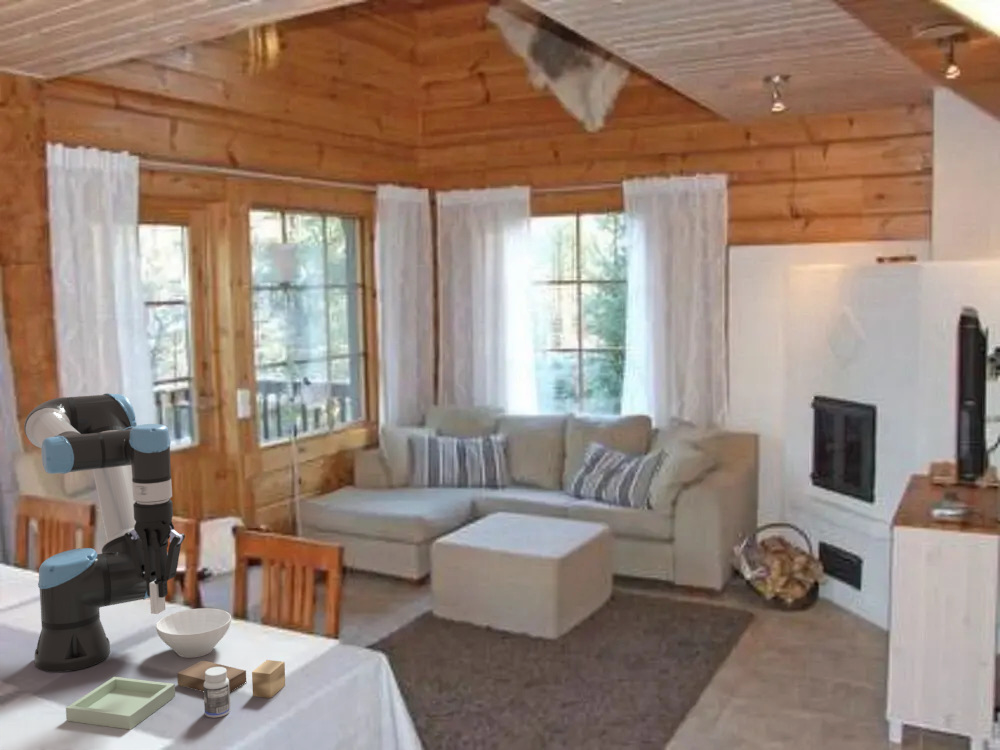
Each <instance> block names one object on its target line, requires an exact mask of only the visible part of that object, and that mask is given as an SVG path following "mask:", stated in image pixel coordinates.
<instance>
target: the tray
mask: <svg viewBox="0 0 1000 750" xmlns="http://www.w3.org/2000/svg"><path fill="white" fill-rule="evenodd" d="M175 686H176V684H175V683H170V682H161V681H153V680H144V679H136V678H129V677H127V678H126V677H120V676H113V677H111V678H110V679H109V680H107V681H105V682H104V683H102V684H101V685H99V686H97V687H95V688H94V689H93V690H91V691H90V692H88V693H86V694H85V695H83V696H82V697H80V698H78V699H77V700H75V701H74V702H72V703H71V704H70V705H68V706H65V715H66V716H65V717H66V722H74V723H81V724H88V725H93V726H102V727H109V728H117V729H123V730H132V729H133V728H135V727H136V726H137V725H139V724H140V723H141V722H143V721H144V720H146V719H147V718H148V717H150V716H151V715H152V714H154V713H155V712H156V711H158V710H160V708H162V707H163V706H165V704H167V703H168V702H170V701H171V700H173V699H174V698H175V697H176V687H175Z"/></svg>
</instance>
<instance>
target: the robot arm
mask: <svg viewBox="0 0 1000 750" xmlns="http://www.w3.org/2000/svg"><path fill="white" fill-rule="evenodd" d="M23 425H24V426H23V430H24V434H25V436H26V438H27V440H28V441H29V442H30V443H31V444H32V445H33V446H34V447H35V446H36V447H37V448H40V449H41V461H42V466H43V468H44V471H45V472H46V473H47V474H50V475H52V474H54V475H55V474H62V475H63V474H68V473H74V472H82V471H90V470H92V473H93V477H94V483H95V487H96V493H97V497H98V503H99V507H100V513H101V518H102V521H103V527H104V528H103V529H104V531H105V532H104V533H105V537H106V542H105V543H104V544H103V545H102V547H101V553H99V554H98V552H96V550H95V549H94V548H91V547H83V548H73V549H68V550H66V551H62V552H59V553H56V554H54V555H52V556H49V557H48V558H47V559H45V560H44V561H43V562H42V563H41V565H40V567H39V568H38V583H37V586H38V588H39V601H40V622H41V631H40V633H39V638H38V641H37V643H36V644H37V645H36V649H35V651H34V665H35V667H36V668H37V669H39V670H40V671H43V672H50V673H51V672H55V673H61V672H64V673H65V672H71V671H77V670H82V669H85V668H89V667H92V666H95V665H97V664H99V663H101V662H103V661H105V660H106V659H107V658H108V657H109V656H110V654H111V644H110V640H109V638H108V637H107V634H106V631H105V629H104V627H103V624H102V622H101V615H100V608H104V607H109V606H115V605H118V604H125V603H130V602H136V601H141V600H143V601H144V600H146V599H150V602H149V603H150V614H153V615H159V614H161V613H163V612H164V611H166V597H167V596H168V593H169V592H168V581H169V580H171V579H173V578H175V577H176V576H177V569H178V563H179V557H180V552H181V546H182V544H183V542H184V540H185V538H186V536H185V534H184V533H178V531H176V530H175V526H174V524H173V521H172V520H173V516H174V512H173V511H174V510H173V504H174V503H173V500H172V499H171V498H173V487H172V485H173V484H172V469H171V466H172V464H171V439H170V433H169V428H168V426H166V425H165V424H161V423H148V424H139V425H137V420H136V414H135V411H134V407H133V405H132V403H131V400H130V399H129V398H128V397H127V396H126V395H123V394H121V393H108V392H107V393H104V394H96V395H94V394H93V395H81V396H80V395H79V396H68V397H67V396H65V397H64V396H62V397H57V398H53V399H49V400H46V401H44V402H42V403H40V404H39V405H37V406H36V407H35V408H33V409H32V410H31V411H30V412H29V413H28V414H27V416H26V418H25V420H24V424H23ZM167 548H168V549H167Z"/></svg>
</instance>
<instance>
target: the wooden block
mask: <svg viewBox="0 0 1000 750" xmlns="http://www.w3.org/2000/svg"><path fill="white" fill-rule="evenodd" d="M285 668H286V667H285V661H281V660H271V659H266V660H265V661H263V662H262V663H261V664H259V666H257V667H256V668H255V669H254V670H253V671H252V672H251V683H252V684H251V685H252V697H259V698H268V699H272V698H273V697H274V696H275V695H276V694H278V693H279V691H280V690H283V688H284V687H285V686H286V672H285V671H286V669H285Z"/></svg>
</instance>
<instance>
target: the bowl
mask: <svg viewBox="0 0 1000 750" xmlns="http://www.w3.org/2000/svg"><path fill="white" fill-rule="evenodd" d="M231 623H232V616H231V613H229V612H227V611H226V610H223V609H218V608H206V607H205V608H192V609H185V610H181V611H176V612H174V613H171V614H168V615H166V616H164V617H162V618H161V619H160V620H158V621H157V622H156V624H155V625H156V626H155V629H156V632H157V635H158V637H159V638H160V639H161V640H162V641H163V643H164V644H165V645H166V646H168V647H169V648H170V649H172V650H173V651H174V652H176V654H177V655H178V656H179V657H180V658H181V657H183V658H189V659H190V658H199V657H203V656H207V655H209V654H210V653H212V651H213V650H214V649H215V647H216V646H217V645H218V644H219V642H220V641H221V640H222V639H223V638H224V636H225V635H226V634H227V633H228V630H229V629H230V626H231ZM206 654H207V655H206Z"/></svg>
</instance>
